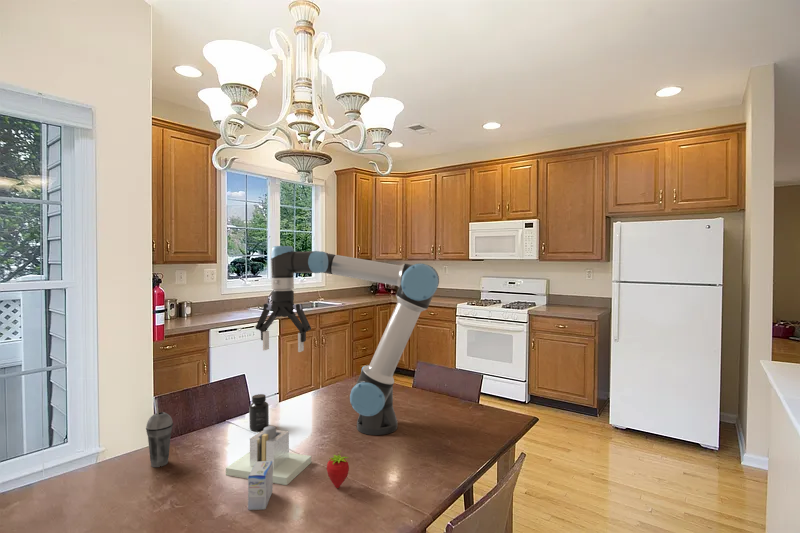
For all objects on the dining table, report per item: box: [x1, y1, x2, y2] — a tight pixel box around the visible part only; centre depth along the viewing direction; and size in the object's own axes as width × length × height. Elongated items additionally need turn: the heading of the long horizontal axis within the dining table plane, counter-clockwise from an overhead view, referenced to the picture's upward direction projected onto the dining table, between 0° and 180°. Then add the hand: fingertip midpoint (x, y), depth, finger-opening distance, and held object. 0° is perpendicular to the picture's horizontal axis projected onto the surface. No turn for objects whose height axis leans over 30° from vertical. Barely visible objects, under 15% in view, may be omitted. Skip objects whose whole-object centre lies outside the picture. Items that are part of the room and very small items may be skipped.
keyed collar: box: [249, 429, 290, 470], centre depth 126 cm, size 8×8×8 cm
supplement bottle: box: [248, 393, 270, 432], centre depth 157 cm, size 7×7×12 cm
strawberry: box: [326, 450, 350, 489], centre depth 115 cm, size 6×8×10 cm
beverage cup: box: [145, 398, 174, 468], centre depth 129 cm, size 7×7×20 cm
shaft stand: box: [225, 425, 312, 486], centre depth 126 cm, size 20×14×12 cm
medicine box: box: [247, 461, 274, 511], centre depth 108 cm, size 8×4×9 cm, turn 5°
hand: (283, 350), depth 148 cm, fingers open, 13 cm apart
